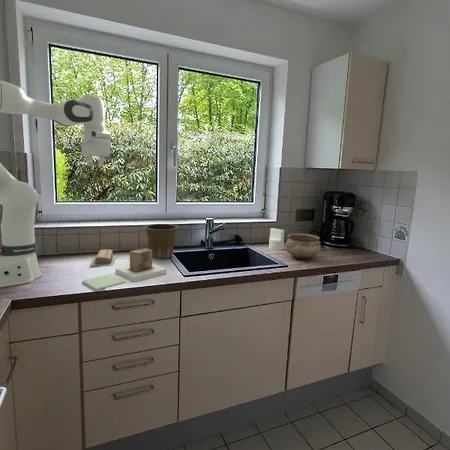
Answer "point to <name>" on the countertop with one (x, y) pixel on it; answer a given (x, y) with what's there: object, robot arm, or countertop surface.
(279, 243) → the base with upright slab
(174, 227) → the plant pot
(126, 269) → the pocket plate
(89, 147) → the robot arm
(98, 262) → the packaged product
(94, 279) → the green pad
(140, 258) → the walnut block
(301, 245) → the cooking pot
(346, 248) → the countertop surface
